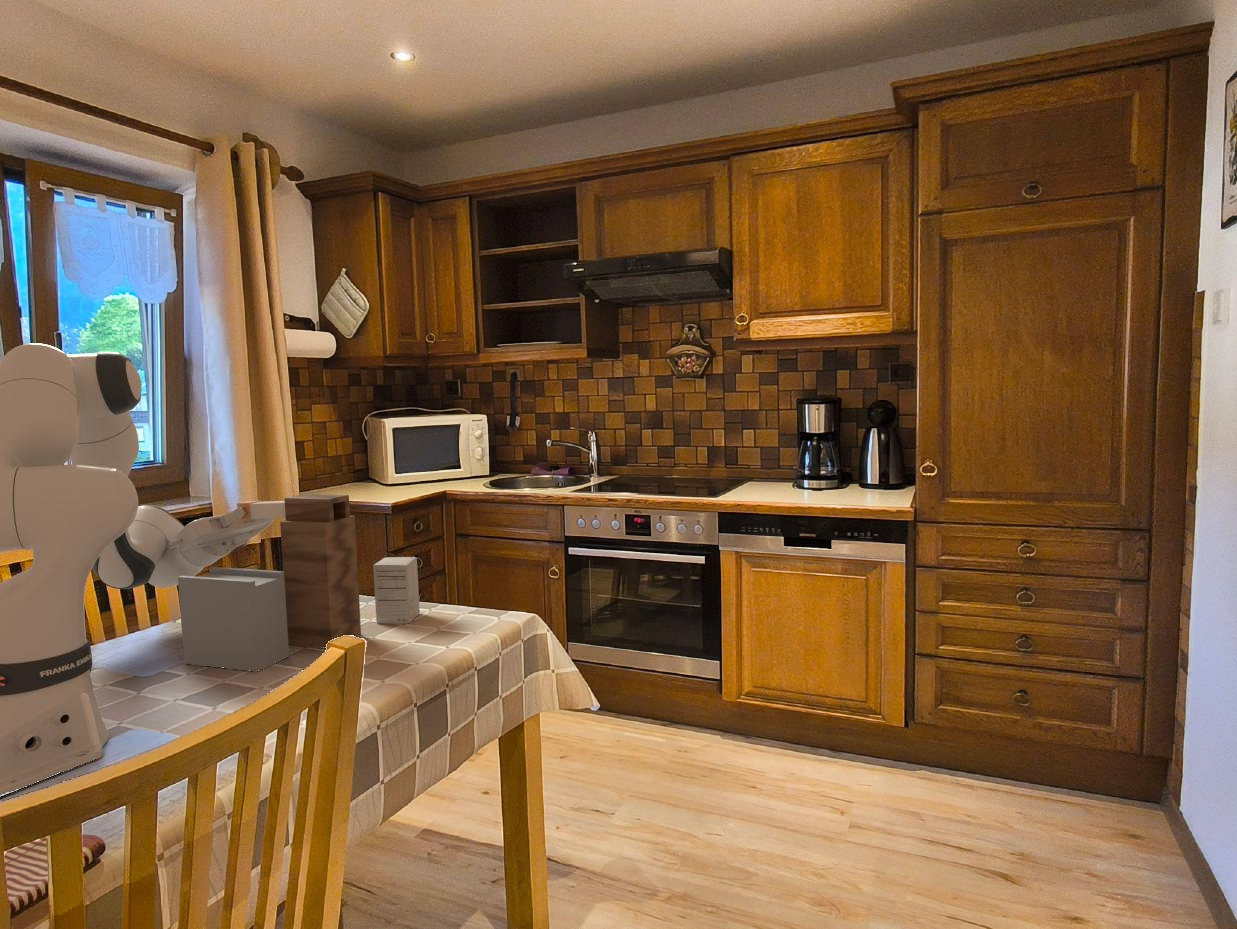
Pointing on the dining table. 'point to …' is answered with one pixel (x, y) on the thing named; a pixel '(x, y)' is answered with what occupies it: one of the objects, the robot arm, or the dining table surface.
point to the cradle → (234, 618)
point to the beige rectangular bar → (263, 509)
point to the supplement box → (396, 589)
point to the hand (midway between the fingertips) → (253, 508)
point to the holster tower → (320, 569)
